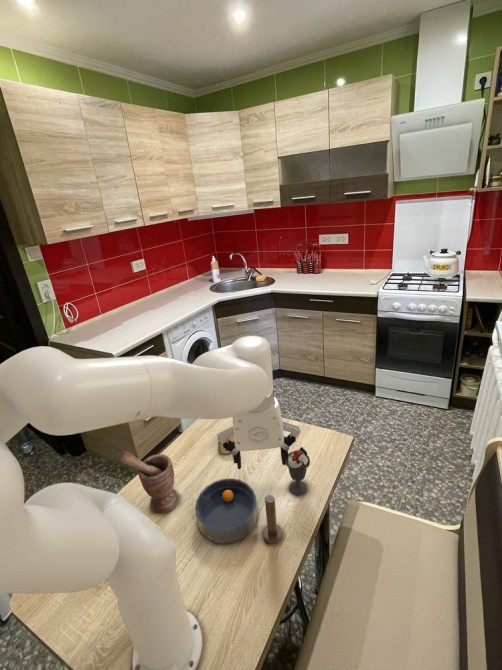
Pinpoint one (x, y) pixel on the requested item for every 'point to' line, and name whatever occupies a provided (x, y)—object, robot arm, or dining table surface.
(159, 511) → the mortar and pestle
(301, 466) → the sundae
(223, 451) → the pastry
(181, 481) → the dining table surface
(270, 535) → the brown flanged wooden cylinder
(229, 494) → the orange ball
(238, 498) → the bowl
